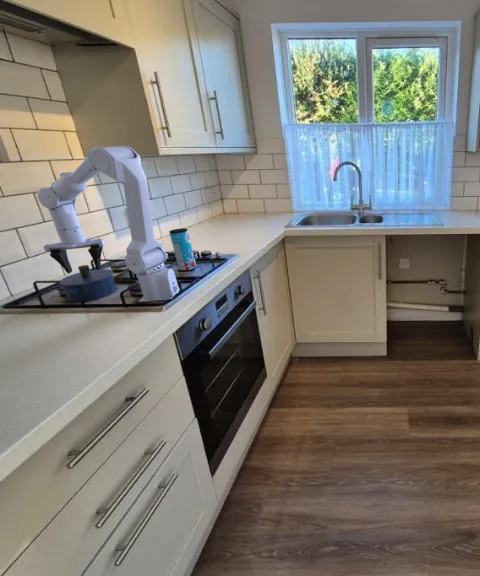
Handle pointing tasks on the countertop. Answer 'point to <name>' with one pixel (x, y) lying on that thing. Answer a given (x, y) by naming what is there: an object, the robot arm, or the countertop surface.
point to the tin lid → (86, 276)
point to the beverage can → (183, 249)
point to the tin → (91, 290)
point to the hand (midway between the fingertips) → (84, 270)
